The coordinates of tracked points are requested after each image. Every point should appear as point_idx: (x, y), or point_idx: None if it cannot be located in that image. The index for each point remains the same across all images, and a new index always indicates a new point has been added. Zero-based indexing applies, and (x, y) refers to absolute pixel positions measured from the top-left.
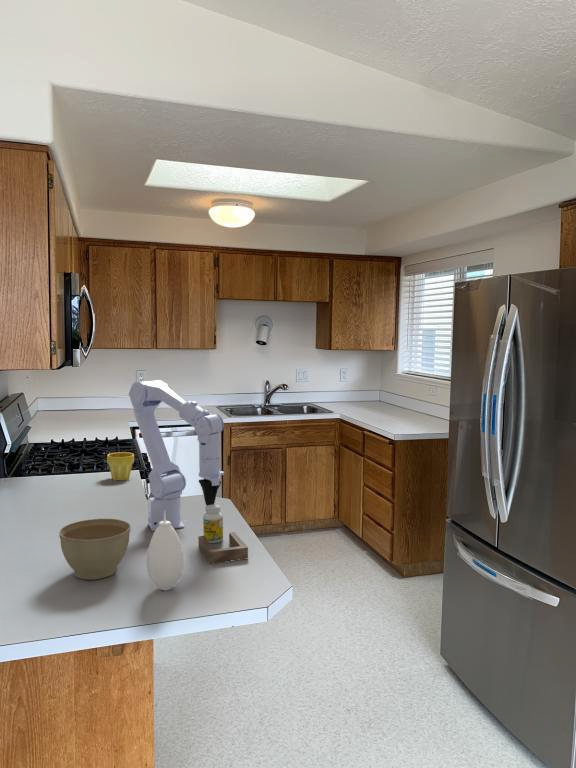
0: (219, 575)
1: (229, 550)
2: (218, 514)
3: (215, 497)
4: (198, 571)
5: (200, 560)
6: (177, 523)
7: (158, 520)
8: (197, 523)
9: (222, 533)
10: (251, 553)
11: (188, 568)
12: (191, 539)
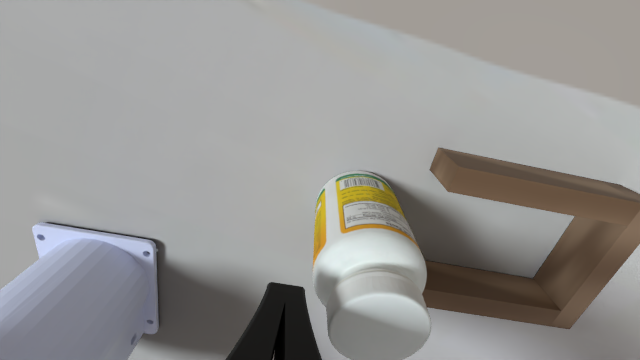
0: (629, 303)
1: (612, 271)
2: (411, 276)
3: (313, 334)
4: (555, 330)
5: None
6: (133, 267)
7: (127, 340)
8: (109, 173)
9: (391, 193)
10: (591, 145)
11: (516, 341)
12: (300, 261)
